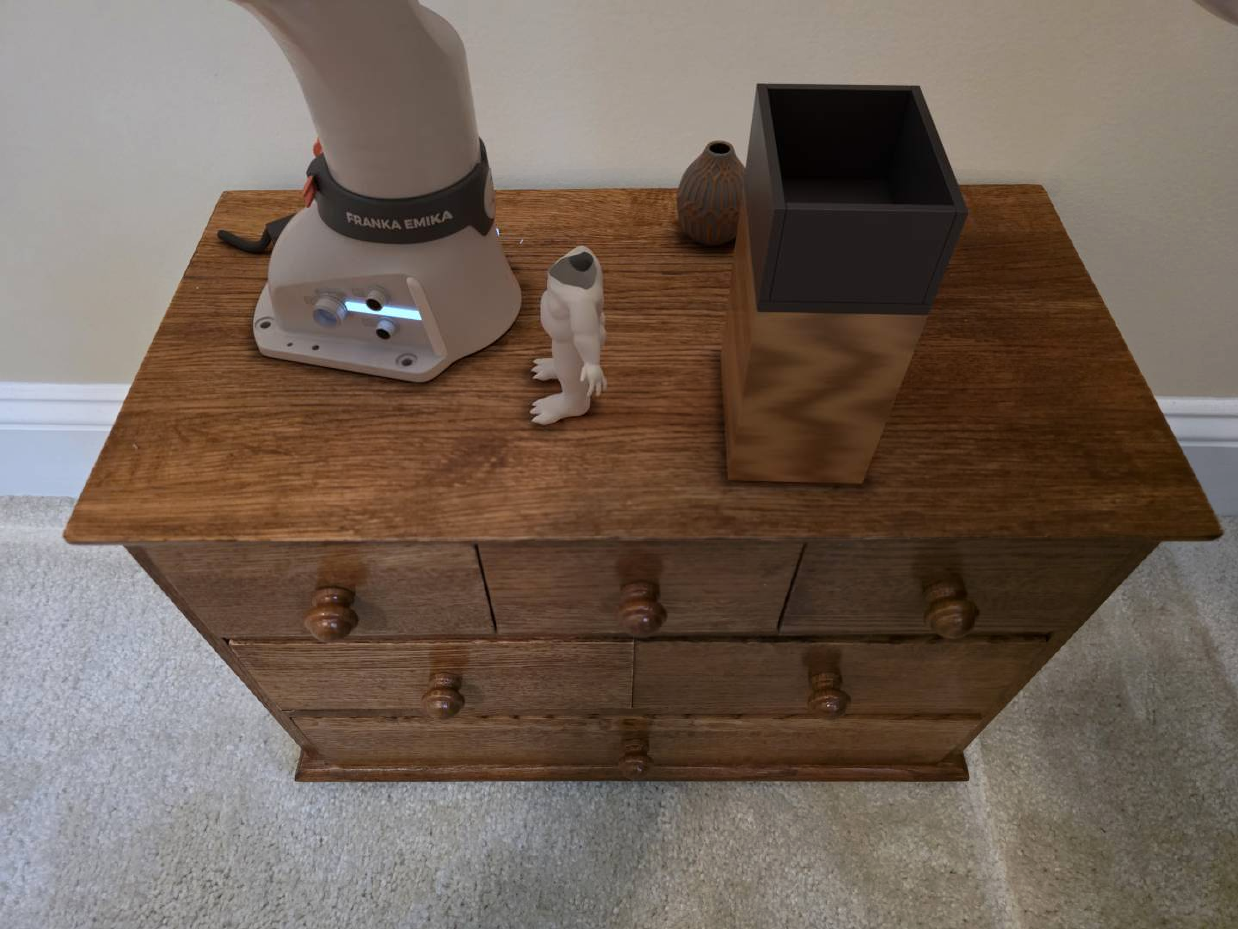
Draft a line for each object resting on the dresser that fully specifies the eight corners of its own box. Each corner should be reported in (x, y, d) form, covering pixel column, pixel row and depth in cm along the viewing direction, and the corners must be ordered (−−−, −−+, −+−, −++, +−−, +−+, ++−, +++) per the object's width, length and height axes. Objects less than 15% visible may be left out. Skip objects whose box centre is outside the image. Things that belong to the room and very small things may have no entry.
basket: (756, 311, 46) (774, 208, 41) (743, 183, 54) (756, 82, 48) (928, 315, 46) (969, 211, 40) (890, 186, 53) (919, 84, 48)
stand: (727, 480, 59) (756, 311, 46) (720, 356, 66) (743, 183, 54) (862, 484, 58) (928, 315, 46) (839, 359, 66) (890, 186, 53)
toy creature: (531, 341, 68) (517, 218, 58) (604, 338, 68) (601, 215, 58) (529, 452, 60) (512, 333, 51) (610, 449, 60) (608, 329, 51)
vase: (664, 218, 78) (668, 133, 71) (730, 205, 79) (741, 120, 72) (690, 261, 74) (697, 176, 67) (759, 247, 75) (773, 161, 68)
